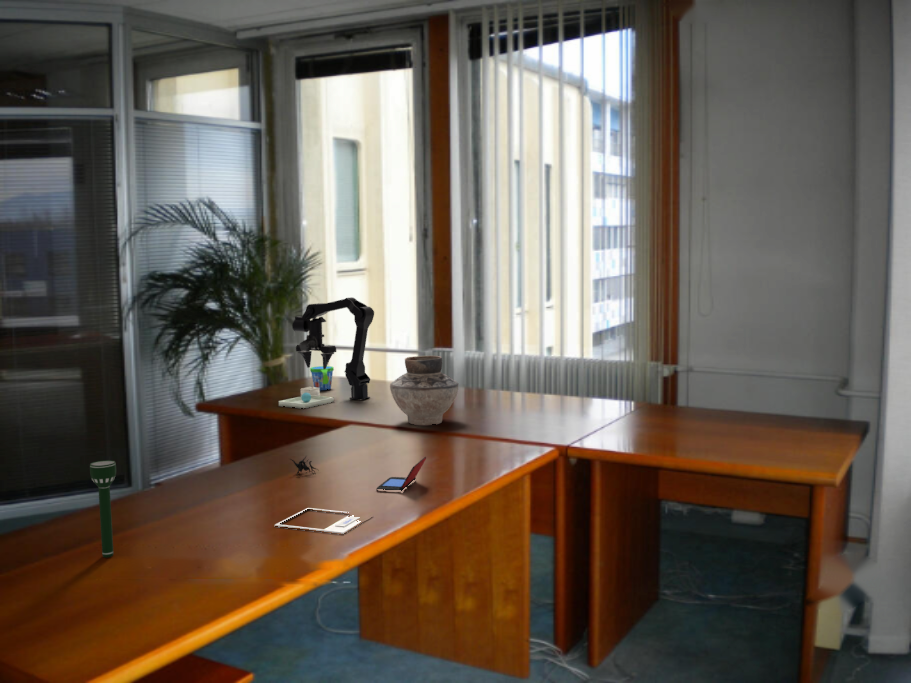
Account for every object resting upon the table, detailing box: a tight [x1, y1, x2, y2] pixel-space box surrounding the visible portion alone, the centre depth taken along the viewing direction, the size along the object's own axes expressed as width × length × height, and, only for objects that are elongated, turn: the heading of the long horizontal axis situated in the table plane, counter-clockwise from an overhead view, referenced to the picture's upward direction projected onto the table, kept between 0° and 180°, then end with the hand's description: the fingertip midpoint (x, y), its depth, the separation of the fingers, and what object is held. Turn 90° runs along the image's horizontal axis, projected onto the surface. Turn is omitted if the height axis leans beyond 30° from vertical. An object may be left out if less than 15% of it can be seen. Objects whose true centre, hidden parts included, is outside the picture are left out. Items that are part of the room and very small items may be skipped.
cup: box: [300, 386, 321, 397], centre depth 392 cm, size 8×8×4 cm
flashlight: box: [89, 459, 117, 559], centre depth 190 cm, size 5×5×20 cm
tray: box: [278, 395, 335, 410], centre depth 376 cm, size 14×18×2 cm
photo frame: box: [274, 507, 361, 535], centre depth 213 cm, size 15×1×18 cm
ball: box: [300, 393, 311, 402], centre depth 376 cm, size 4×4×4 cm
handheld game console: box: [376, 456, 427, 491], centre depth 243 cm, size 12×11×7 cm
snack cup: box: [309, 365, 335, 391], centre depth 415 cm, size 16×10×10 cm
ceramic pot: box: [389, 355, 460, 426], centre depth 332 cm, size 25×25×24 cm
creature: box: [289, 455, 319, 477], centre depth 258 cm, size 8×5×8 cm
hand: (316, 368), depth 396 cm, fingers open, 9 cm apart
